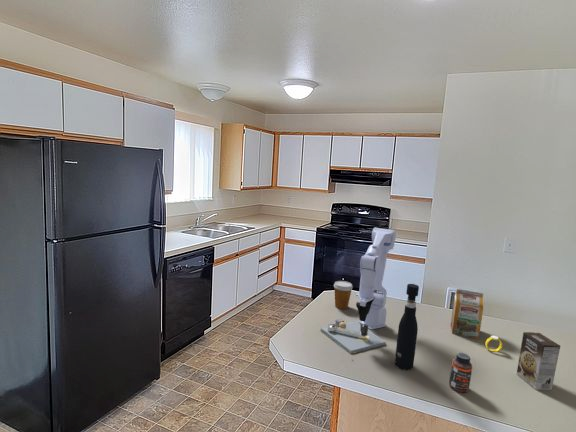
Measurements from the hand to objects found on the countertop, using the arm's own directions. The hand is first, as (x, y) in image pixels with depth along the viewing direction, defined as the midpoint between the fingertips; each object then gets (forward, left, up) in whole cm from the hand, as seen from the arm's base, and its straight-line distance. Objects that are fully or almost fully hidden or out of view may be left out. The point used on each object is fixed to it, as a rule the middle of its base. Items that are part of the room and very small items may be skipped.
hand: (364, 317), depth 142 cm
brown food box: (-37, +47, -10) cm, 60 cm away
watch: (-45, +28, -10) cm, 54 cm away
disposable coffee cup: (-14, -31, -10) cm, 36 cm away
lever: (+4, -4, -8) cm, 10 cm away
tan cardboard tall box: (-50, +12, -10) cm, 52 cm away
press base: (+2, -3, -10) cm, 11 cm away
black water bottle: (-2, +21, -10) cm, 23 cm away
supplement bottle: (-9, +38, -10) cm, 40 cm away
